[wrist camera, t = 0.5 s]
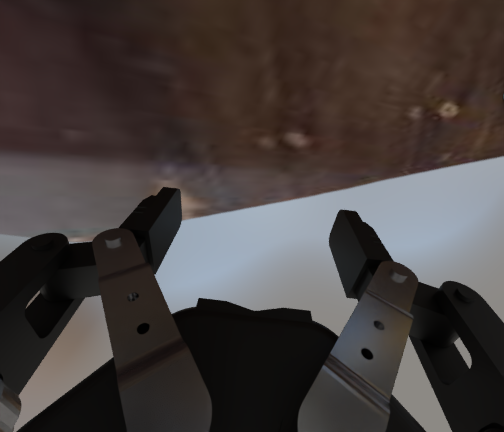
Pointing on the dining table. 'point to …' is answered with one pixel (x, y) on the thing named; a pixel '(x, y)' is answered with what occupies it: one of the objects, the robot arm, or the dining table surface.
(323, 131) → the dining table surface
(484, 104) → the dining table surface
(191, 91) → the dining table surface
